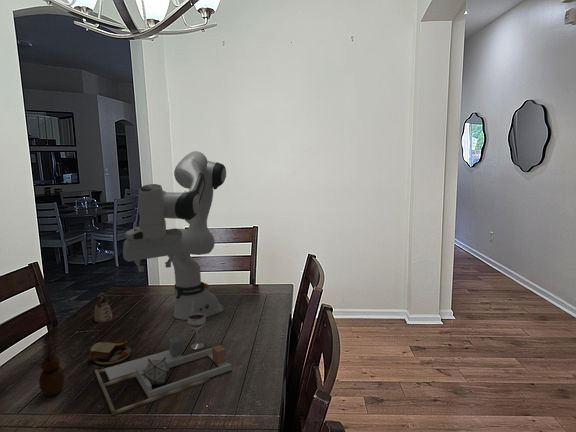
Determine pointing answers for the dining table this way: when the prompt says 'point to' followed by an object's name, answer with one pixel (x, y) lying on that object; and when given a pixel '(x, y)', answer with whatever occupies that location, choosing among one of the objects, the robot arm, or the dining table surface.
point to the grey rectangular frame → (213, 353)
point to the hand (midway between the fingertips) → (155, 269)
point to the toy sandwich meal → (109, 353)
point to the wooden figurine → (51, 375)
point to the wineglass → (196, 326)
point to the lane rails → (140, 401)
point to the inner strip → (144, 361)
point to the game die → (156, 371)
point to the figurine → (102, 309)
